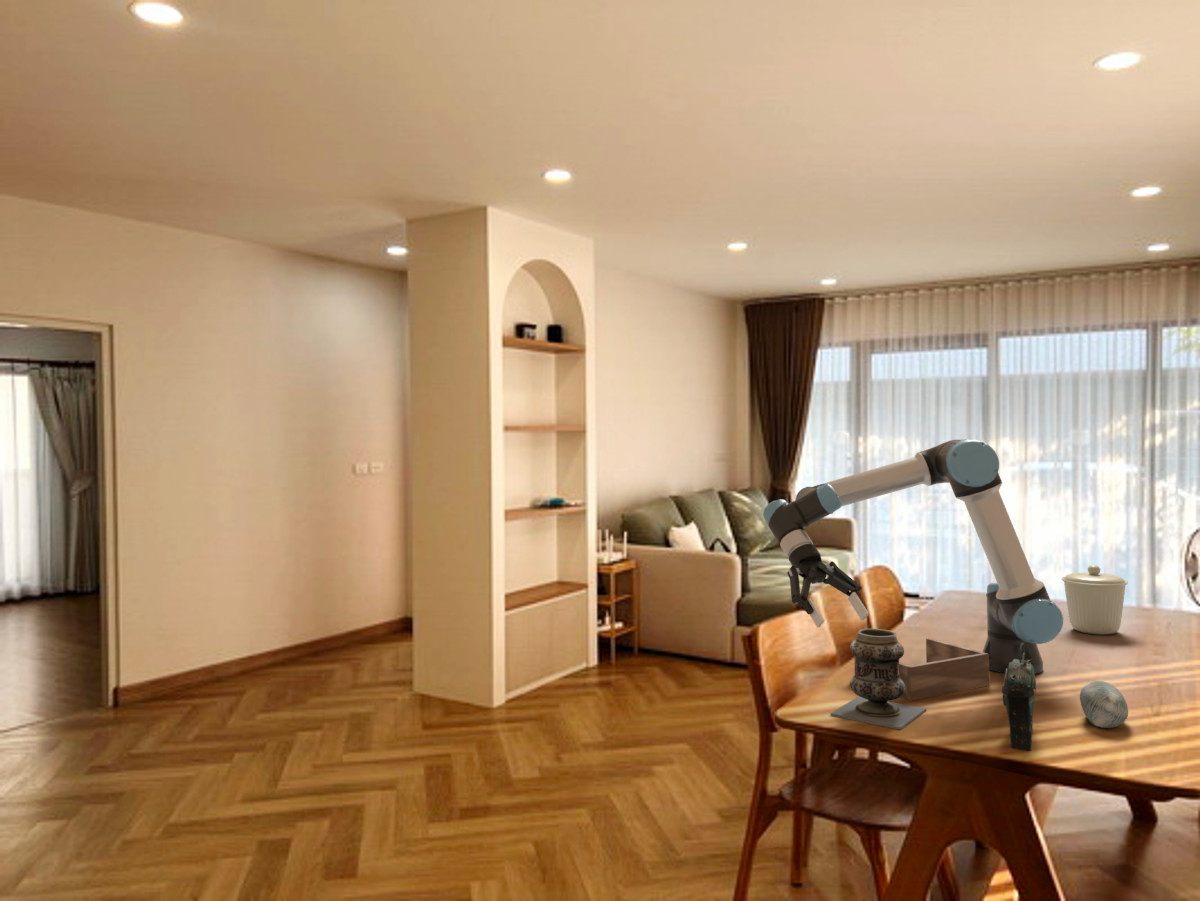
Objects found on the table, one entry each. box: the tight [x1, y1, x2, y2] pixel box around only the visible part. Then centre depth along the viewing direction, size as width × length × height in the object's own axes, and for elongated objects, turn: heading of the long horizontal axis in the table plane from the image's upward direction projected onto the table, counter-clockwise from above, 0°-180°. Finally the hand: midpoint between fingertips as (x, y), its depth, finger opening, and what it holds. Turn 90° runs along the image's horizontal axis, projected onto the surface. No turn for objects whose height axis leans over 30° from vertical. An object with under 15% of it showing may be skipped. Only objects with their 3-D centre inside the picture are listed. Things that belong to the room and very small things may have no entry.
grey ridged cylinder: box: [1079, 680, 1129, 729], centre depth 181 cm, size 14×10×10 cm
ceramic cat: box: [1001, 643, 1037, 752], centre depth 173 cm, size 20×6×20 cm, turn 151°
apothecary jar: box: [849, 628, 905, 717], centre depth 190 cm, size 12×12×18 cm
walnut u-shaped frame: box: [853, 637, 990, 702], centre depth 212 cm, size 19×26×8 cm
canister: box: [1061, 564, 1129, 636], centre depth 265 cm, size 18×18×21 cm
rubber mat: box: [830, 695, 927, 730], centre depth 190 cm, size 16×16×1 cm
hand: (843, 620), depth 199 cm, fingers open, 13 cm apart
